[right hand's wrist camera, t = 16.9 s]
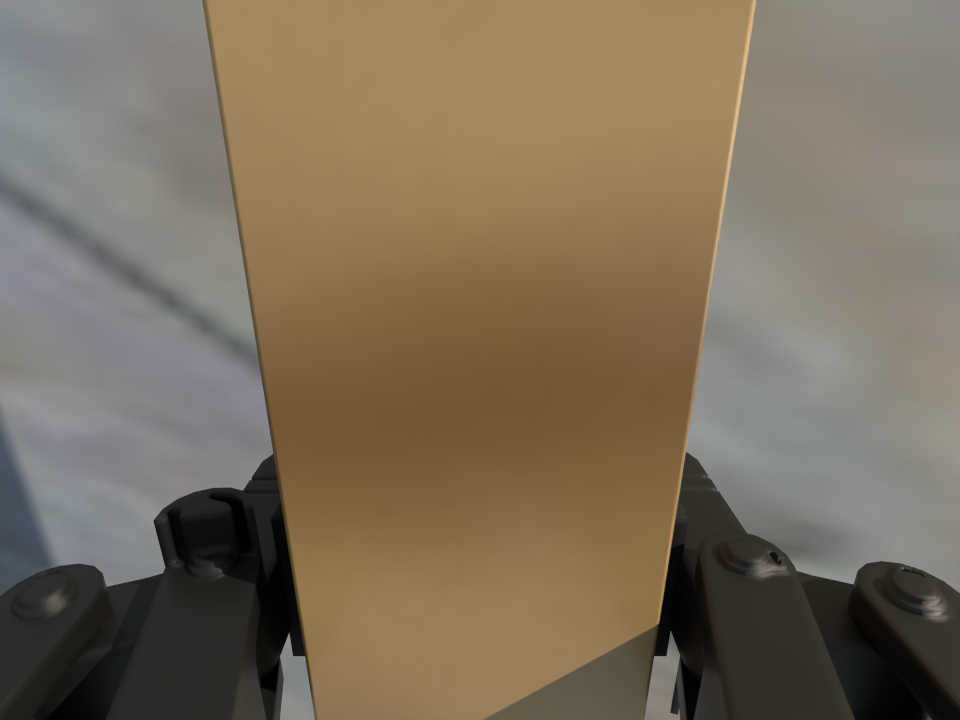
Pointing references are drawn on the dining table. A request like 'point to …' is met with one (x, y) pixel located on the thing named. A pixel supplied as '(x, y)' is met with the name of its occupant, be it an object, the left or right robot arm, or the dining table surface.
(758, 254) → the dining table surface
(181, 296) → the dining table surface
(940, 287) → the dining table surface
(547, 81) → the bar
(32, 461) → the dining table surface
